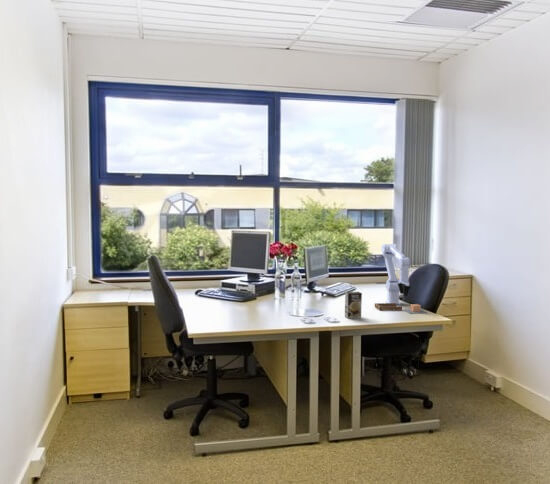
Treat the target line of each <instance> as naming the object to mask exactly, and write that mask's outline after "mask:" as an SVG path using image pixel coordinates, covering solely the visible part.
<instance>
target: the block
mask: <svg viewBox="0 0 550 484" xmlns="http://www.w3.org/2000/svg"><path fill="white" fill-rule="evenodd" d="M421 308H422V307H421V305H420V304H419V303H415V304H411V303H410V307H409V309H410V310H411V311H413V312H420V310H422V309H421Z"/></svg>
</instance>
